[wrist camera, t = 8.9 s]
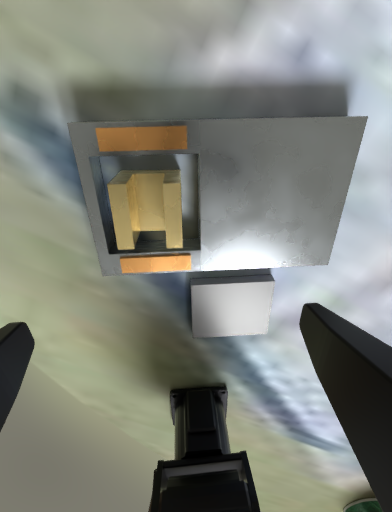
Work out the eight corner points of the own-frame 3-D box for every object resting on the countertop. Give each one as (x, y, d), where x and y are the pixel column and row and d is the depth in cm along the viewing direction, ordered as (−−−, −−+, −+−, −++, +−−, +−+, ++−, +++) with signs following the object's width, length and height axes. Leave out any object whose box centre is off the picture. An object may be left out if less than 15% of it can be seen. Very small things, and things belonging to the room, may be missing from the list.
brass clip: (181, 223, 20) (182, 247, 16) (128, 224, 19) (117, 249, 16) (180, 169, 18) (180, 183, 14) (121, 170, 17) (107, 184, 14)
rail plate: (315, 252, 21) (329, 266, 20) (108, 262, 21) (102, 277, 19) (348, 116, 17) (370, 116, 15) (79, 121, 16) (65, 122, 14)
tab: (263, 326, 25) (266, 333, 24) (192, 330, 25) (192, 338, 24) (271, 274, 22) (275, 281, 21) (190, 278, 22) (191, 285, 21)
